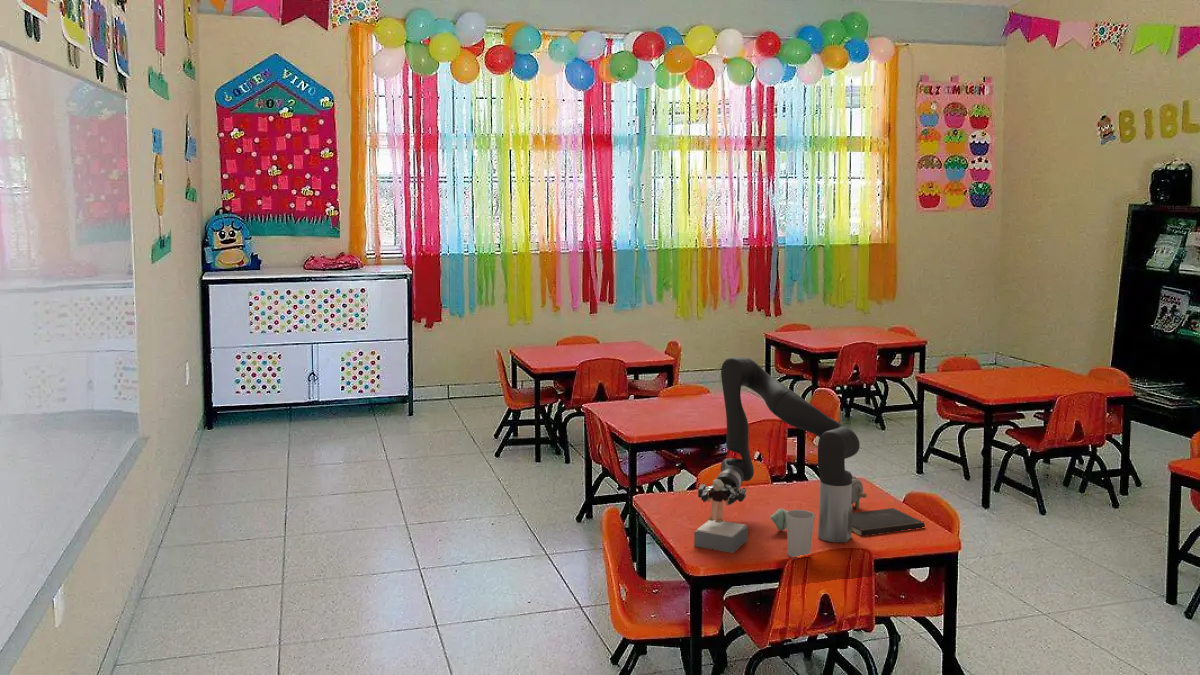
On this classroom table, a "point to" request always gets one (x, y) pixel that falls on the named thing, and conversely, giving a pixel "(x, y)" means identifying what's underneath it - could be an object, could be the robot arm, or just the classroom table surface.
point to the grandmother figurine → (717, 501)
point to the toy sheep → (856, 491)
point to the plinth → (720, 536)
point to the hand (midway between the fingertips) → (717, 500)
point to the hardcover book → (883, 522)
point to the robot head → (780, 519)
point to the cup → (799, 532)
